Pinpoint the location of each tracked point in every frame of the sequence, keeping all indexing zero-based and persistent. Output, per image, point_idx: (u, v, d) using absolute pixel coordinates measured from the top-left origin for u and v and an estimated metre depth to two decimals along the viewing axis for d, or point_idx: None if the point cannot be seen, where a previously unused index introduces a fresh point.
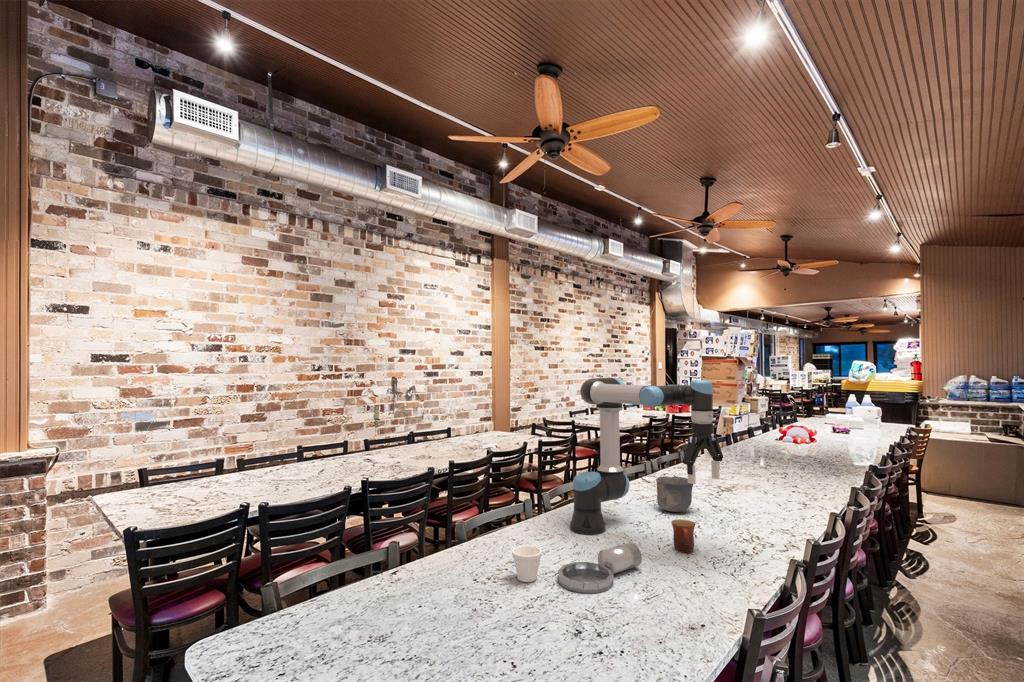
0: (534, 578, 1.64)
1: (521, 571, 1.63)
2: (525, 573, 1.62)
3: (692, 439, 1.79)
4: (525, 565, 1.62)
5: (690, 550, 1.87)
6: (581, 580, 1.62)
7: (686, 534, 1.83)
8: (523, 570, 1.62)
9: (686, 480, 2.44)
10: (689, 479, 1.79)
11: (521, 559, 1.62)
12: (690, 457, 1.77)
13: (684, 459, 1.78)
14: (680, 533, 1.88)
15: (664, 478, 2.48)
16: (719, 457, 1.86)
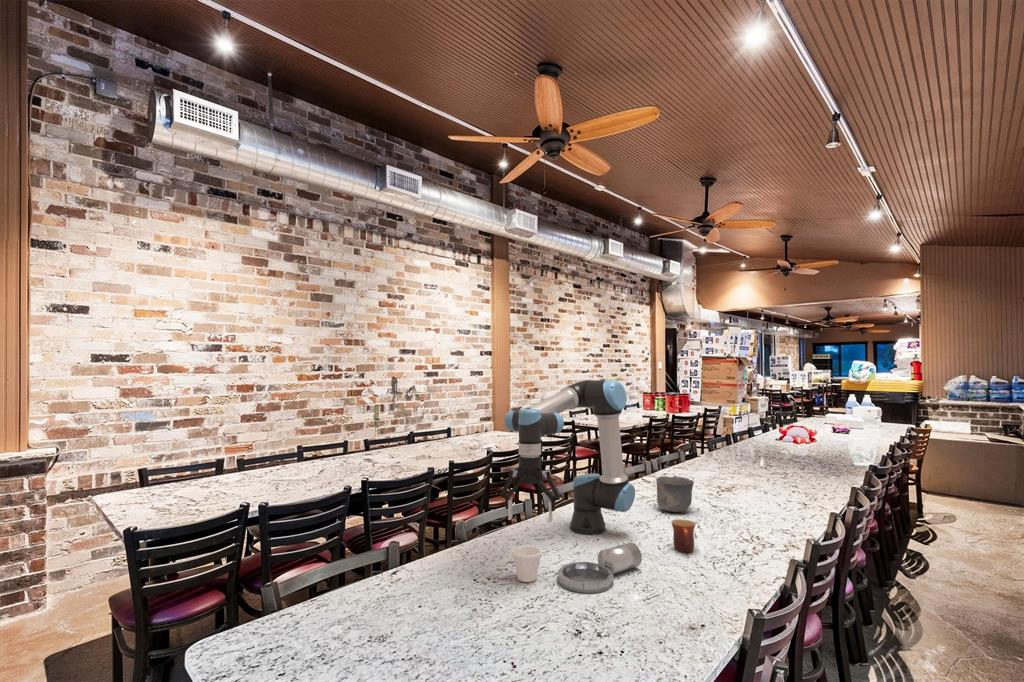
0: (534, 578, 1.64)
1: (521, 571, 1.63)
2: (525, 573, 1.62)
3: None
4: (525, 565, 1.62)
5: (690, 550, 1.87)
6: (581, 580, 1.62)
7: (686, 534, 1.83)
8: (523, 570, 1.62)
9: (686, 480, 2.44)
10: None
11: (521, 559, 1.62)
12: (503, 490, 1.68)
13: None
14: (680, 533, 1.88)
15: (664, 478, 2.48)
16: (552, 498, 1.65)
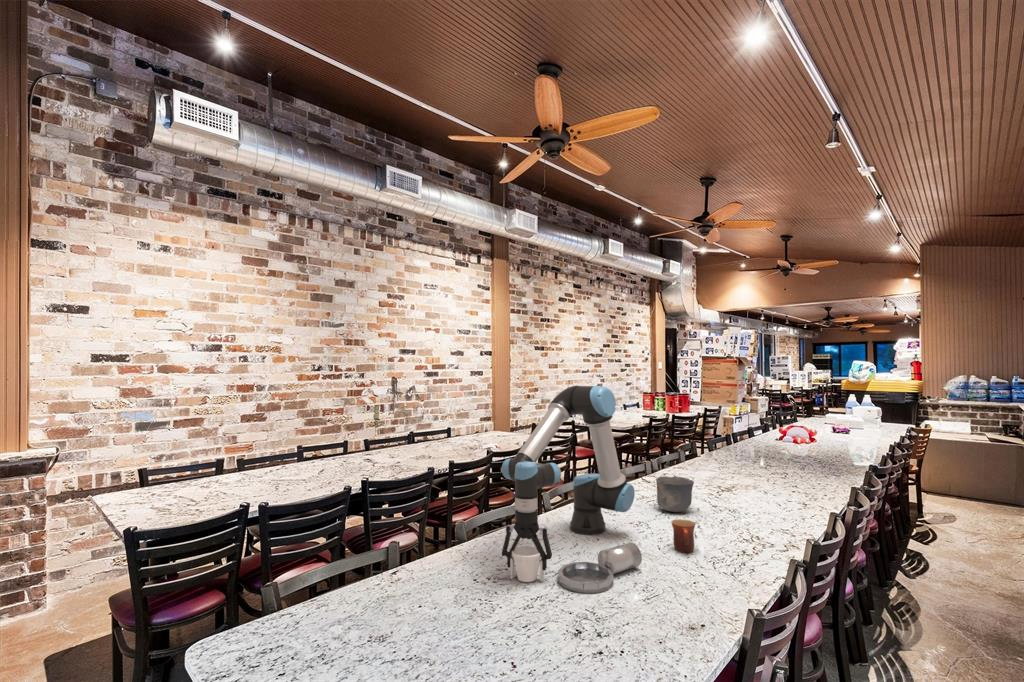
0: (534, 578, 1.64)
1: (521, 571, 1.63)
2: (525, 573, 1.62)
3: None
4: (525, 565, 1.62)
5: (690, 550, 1.87)
6: (581, 580, 1.62)
7: (686, 534, 1.83)
8: (523, 570, 1.62)
9: (686, 480, 2.44)
10: None
11: (521, 559, 1.62)
12: (504, 548, 1.67)
13: None
14: (680, 533, 1.88)
15: (664, 478, 2.48)
16: (544, 557, 1.64)
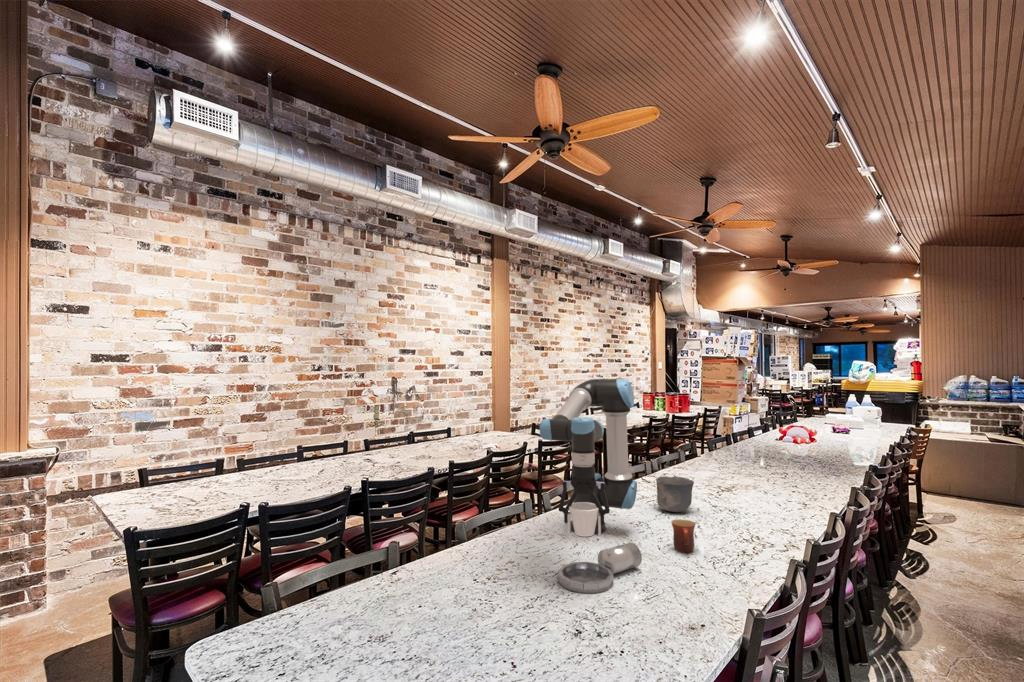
0: (592, 533, 1.63)
1: (580, 525, 1.61)
2: (583, 528, 1.61)
3: None
4: (584, 519, 1.61)
5: (690, 550, 1.87)
6: (581, 580, 1.62)
7: (686, 534, 1.83)
8: (581, 524, 1.61)
9: (686, 480, 2.44)
10: None
11: (580, 514, 1.60)
12: (561, 503, 1.65)
13: None
14: (680, 533, 1.88)
15: (664, 478, 2.48)
16: (602, 511, 1.63)
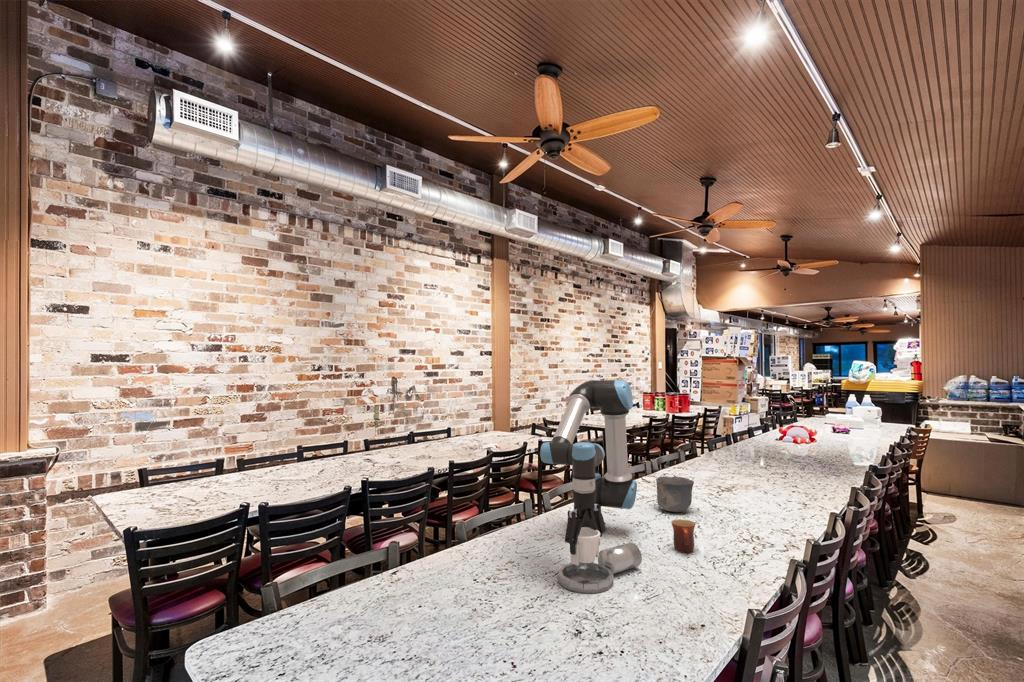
0: None
1: (591, 552, 1.61)
2: (593, 553, 1.61)
3: (572, 514, 1.60)
4: (595, 544, 1.61)
5: (690, 550, 1.87)
6: (581, 580, 1.62)
7: (686, 534, 1.83)
8: (593, 550, 1.61)
9: (686, 480, 2.44)
10: (572, 559, 1.61)
11: (594, 540, 1.60)
12: (572, 535, 1.59)
13: (566, 538, 1.60)
14: (680, 533, 1.88)
15: (664, 478, 2.48)
16: None
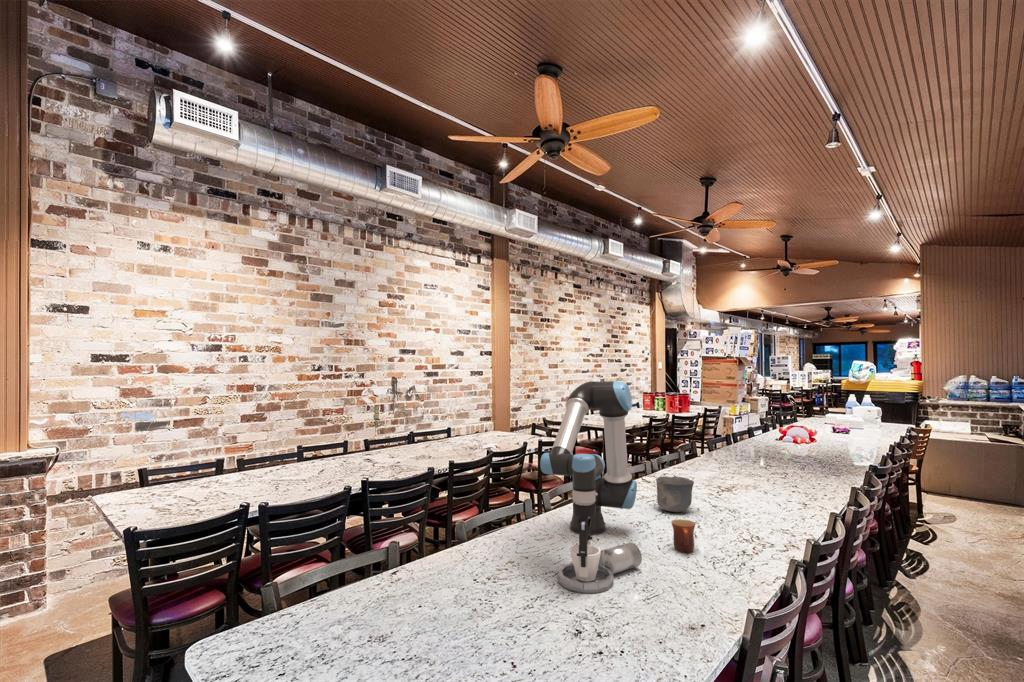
0: None
1: (596, 568, 1.62)
2: None
3: (585, 526, 1.58)
4: None
5: (690, 550, 1.87)
6: None
7: (686, 534, 1.83)
8: (597, 566, 1.62)
9: (686, 480, 2.44)
10: (581, 572, 1.57)
11: (599, 555, 1.62)
12: (586, 548, 1.56)
13: (580, 551, 1.55)
14: (680, 533, 1.88)
15: (664, 478, 2.48)
16: (590, 535, 1.72)
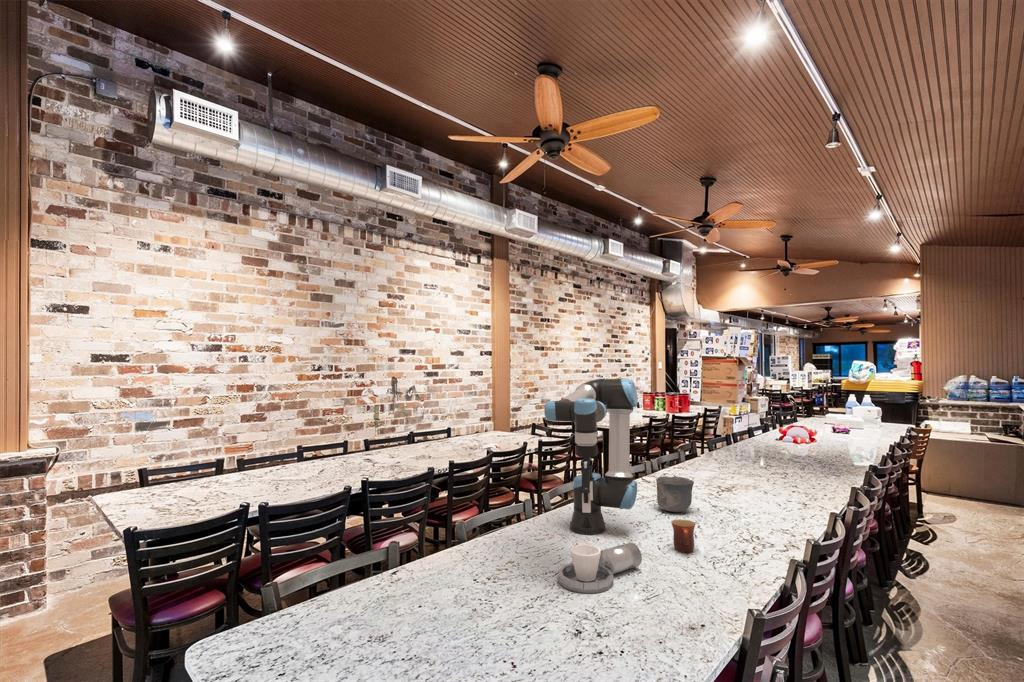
0: None
1: (596, 568, 1.62)
2: None
3: (587, 464, 1.66)
4: None
5: (690, 550, 1.87)
6: None
7: (686, 534, 1.83)
8: (597, 566, 1.62)
9: (686, 480, 2.44)
10: (584, 508, 1.65)
11: (599, 555, 1.62)
12: (589, 484, 1.63)
13: (583, 488, 1.63)
14: (680, 533, 1.88)
15: (664, 478, 2.48)
16: (591, 477, 1.80)
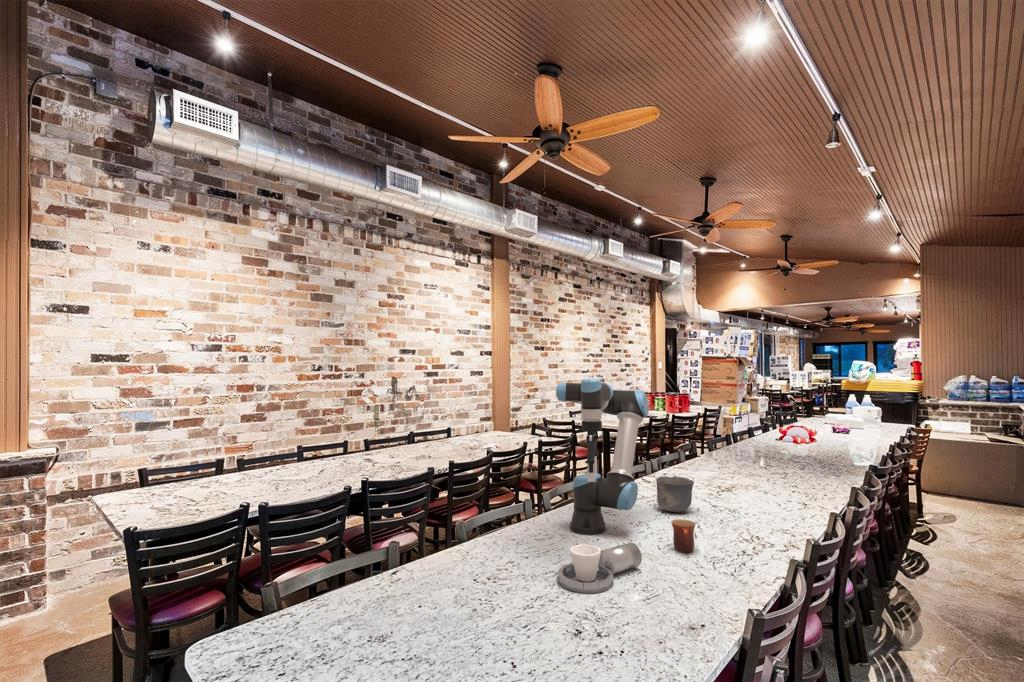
0: None
1: (596, 568, 1.62)
2: None
3: (592, 437, 1.81)
4: None
5: (690, 550, 1.87)
6: None
7: (686, 534, 1.83)
8: (597, 566, 1.62)
9: (686, 480, 2.44)
10: (589, 477, 1.80)
11: (599, 555, 1.62)
12: (594, 455, 1.79)
13: (588, 458, 1.78)
14: (680, 533, 1.88)
15: (664, 478, 2.48)
16: (596, 452, 1.95)
